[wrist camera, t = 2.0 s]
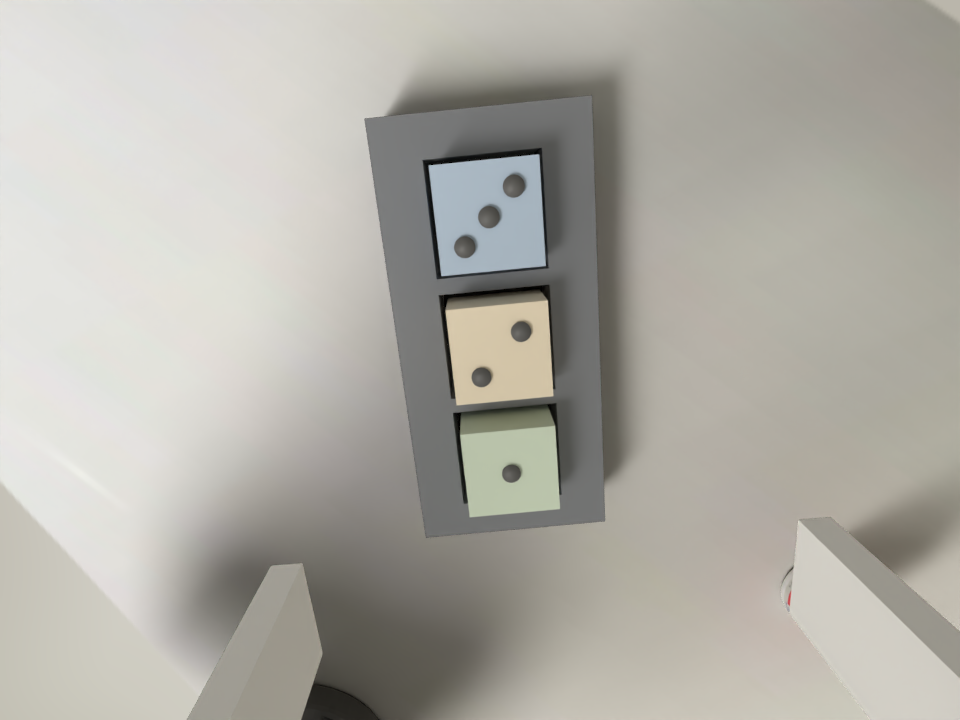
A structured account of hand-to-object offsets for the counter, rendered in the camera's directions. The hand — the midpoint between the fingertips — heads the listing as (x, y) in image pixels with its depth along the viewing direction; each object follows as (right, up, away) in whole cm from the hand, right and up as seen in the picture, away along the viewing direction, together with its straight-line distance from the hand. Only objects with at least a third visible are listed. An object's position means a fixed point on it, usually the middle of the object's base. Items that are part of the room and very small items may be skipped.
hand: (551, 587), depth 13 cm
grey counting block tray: (-1, +8, +25) cm, 26 cm away
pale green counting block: (0, -1, +25) cm, 25 cm away
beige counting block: (-1, +7, +23) cm, 24 cm away
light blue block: (-1, +15, +20) cm, 25 cm away
